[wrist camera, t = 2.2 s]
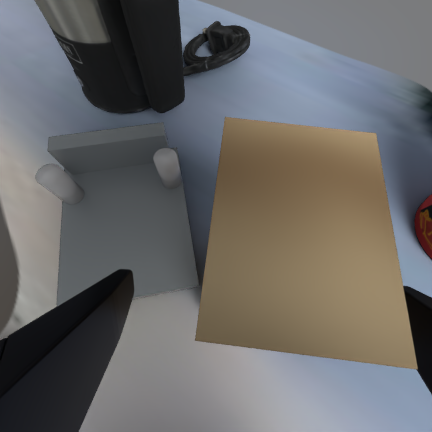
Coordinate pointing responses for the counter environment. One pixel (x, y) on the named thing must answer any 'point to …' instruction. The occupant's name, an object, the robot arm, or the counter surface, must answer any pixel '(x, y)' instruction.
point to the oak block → (303, 247)
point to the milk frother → (135, 50)
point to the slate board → (121, 210)
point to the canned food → (425, 225)
